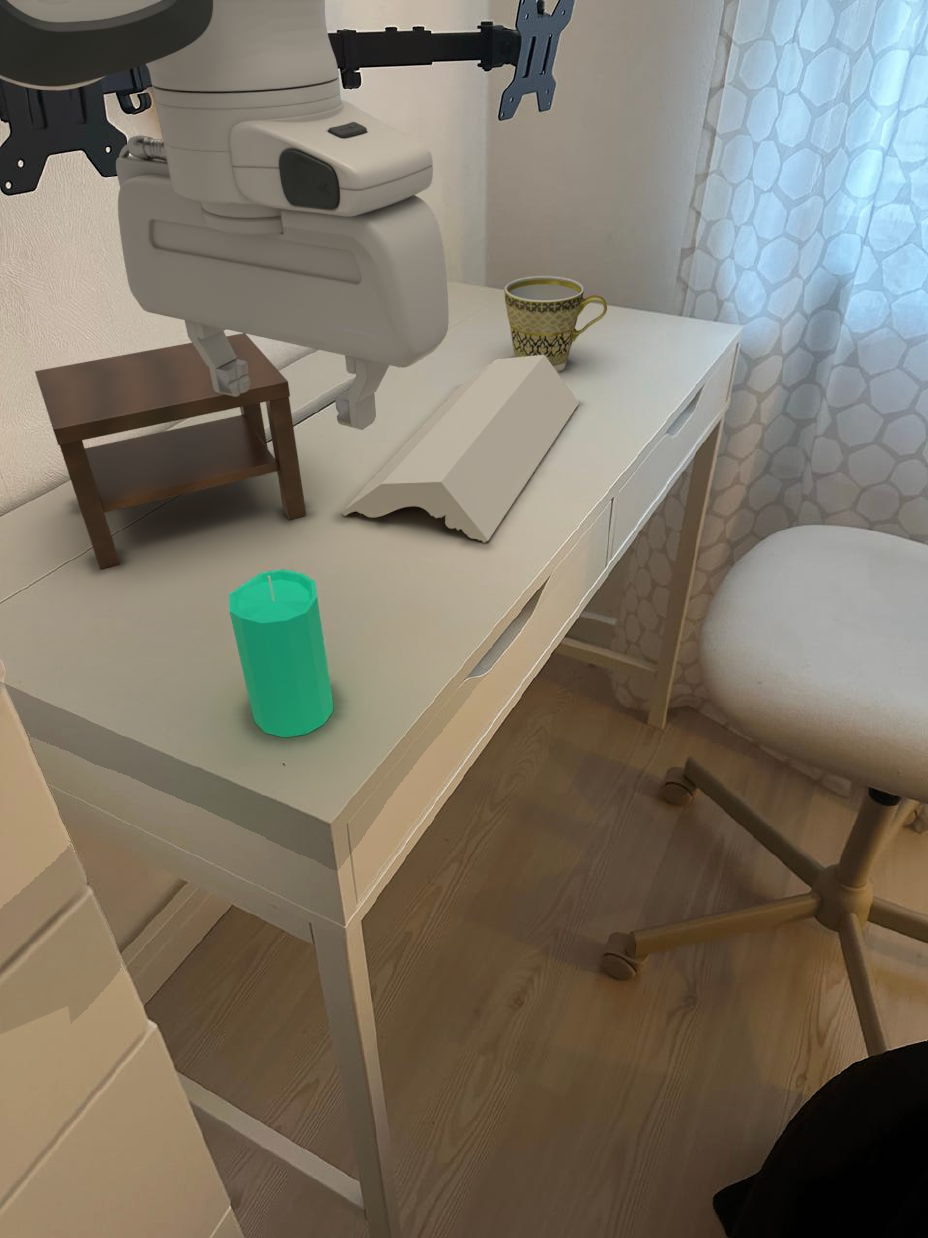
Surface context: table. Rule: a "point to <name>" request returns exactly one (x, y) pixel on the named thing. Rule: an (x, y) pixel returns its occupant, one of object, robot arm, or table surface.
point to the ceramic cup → (546, 316)
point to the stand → (170, 459)
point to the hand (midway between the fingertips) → (293, 407)
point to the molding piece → (476, 448)
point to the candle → (282, 652)
